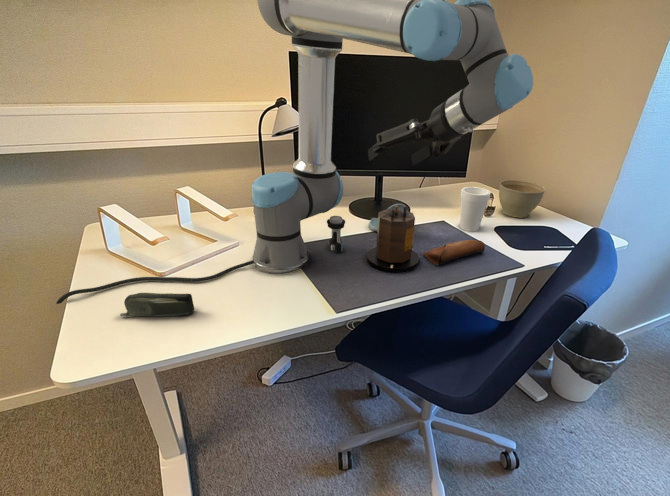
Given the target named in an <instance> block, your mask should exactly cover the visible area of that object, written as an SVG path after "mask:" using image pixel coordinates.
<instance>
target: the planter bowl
mask: <svg viewBox="0 0 670 496" xmlns="http://www.w3.org/2000/svg"><path fill="white" fill-rule="evenodd" d="M545 193H546V188H545V187H544V186H543V185H540V184H537V183H535V182H531V181H525V180H518V179H506V180H502V181H500V182H499V189H498V200H499V203H500V206H501V208H502V213H503V214H504V215H505V216H508V217H511V218H517V219H524V218H528V216H529V215H530V213H532V212H533V211H534V210H535V209H536V208H537V207H538V206H539V205H540V203H541V202H542V200H543V197H544V194H545Z"/></svg>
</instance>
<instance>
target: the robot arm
mask: <svg viewBox="0 0 670 496" xmlns="http://www.w3.org/2000/svg"><path fill="white" fill-rule="evenodd" d="M256 1H257V6H258V10H259V13H260V16H261V17H262V19H263V20H264V22H265V23H266V25H268V26H269V28H271V29H272V30H273V31H275V32H276V33H278V34H281V35H284V36H288V37H289V36H290V37H291V46H292V47H293V49H295V51H296V53H297V55H298V58H297V61H298V64H297V65H298V68H297V69H298V71H297V72H298V75H297V76H298V77H297V78H298V159H296V160H295V161H294V162H293V164H292V172H289V171H277V172H269V173H266V174H263V175H260V176H259V177H257V178H256V179H255V180H254V181H253V182H252V184H251V202H252V205H253V206H252V207H253V213H254V214H253V215H254V224H255V230H256V240H255V245H254V249H253V253H252V260H249V261H245V262H243V263H240V264H237V265H233V266H231V267H228V268H226V269H224V270H222V271H220V272H218V273H215V274H213V275H209V276H202V277H181V276H178V277H177V276H139V277H132V278H127V279H122V280H118V281H114V282H111V283H107V284H103V285H99V286H96V287H89V288H80V289H74V290H70V291H67V292H66V293H64V294H62V295H61V296H60V297H59V299H57V301H56V305H59V304H62V303H63V302H64V301H65V300H67V299H68V298H70V297H72V296H75V295H80V294H87V293H94V292H99V291H103V290H106V289H111V288H114V287H117V286H120V285H125V284H129V283H136V282H144V281H145V282H147V281H148V282H150V281H153V282H186V283H200V282H206V281H211V280H214V279H218V278H220V277H222V276H224V275H226V274H229V273H230V272H233V271H236V270H238V269H241V268H244V267H248V266H250V265H253V266H254V268H255V269H257V270H258V271H260V272H262V273H266V274H272V275H284V274H285V275H286V274H291V273H295V272H299V271H301V270H303V269H304V268H306V267H307V265H308V264H309V262H310V256H309V255H310V254H309V253H310V251H309V250H308V249H307V246H306V243H305V241H304V238H303V237H302V230H301V221H303V220H306V219H309V218H311V217H312V218H313V217H314V216H318V215H319V214H324V213H325V214H326V213H328V212H329V211H331V210H332V209H335V208H336V207H337V206H338V205H339V204H340V203H341V201H342V199H343V195H344V183H343V180H342V179H341V175H340V174H339V172H338V171H337V166H336V165H335V163H334V162H333V161H332V147H333V146H332V142H333V122H334V121H333V119H334V98H335V97H334V95H335V74H336V57H337V56H338V55H339V54H340V53H341V52H342V51H343V40H348V41H352V42H357V43H361V44H364V45H365V44H366V45H370V46H375V47H379V48H384V49H387V50H392V51H397V52H400V53H406V54H410V55H413V56H414V57H415V58H417V59H419V60H423V61H427V62H437V61H460V63H461V66H462V69H463V71H464V74H465V77H466V78H467V81H468V83H469V84H467V85H466V86H464V88H461V89H460V90H459V91H457V92H456V93H455V94H453V95H451V96H450V97H448V98H447V99H446V100H445V101H443V102H442V103H441V104H439V105H438V106H436V107H435V108H433V110H432V112H431V113H430V117H429V118H428V120H425V121H422V122H419V120H418V118H417V117H414V118H412V119H410V120H408V121H407V122H405V123H402V124H399V125H397V126H395V127H392V128H389V129H387V130H384V131H382V132H378V133H377V134H376V143H375V144H373V145H372V146H371V147H370V148H368V149H367V155H368V161H369V162H373V161H375V160H377V159H378V158H379V157H381V156H382V155H384V154H386V153H387V152H388V151H389V149H390V148H394V147H399V146H403V145H407V144H410V143H414V144H419V143H424V142H427V143H432V144H427V145H426V146H424V147H422V148H421V149H419V150H417V151H416V152H414V153H413V154H411V155H410V156H411V162H412V166H413V167H416V166H418V165H420V164H421V163H423V162H425V161H427V160H428V159H430V158H432V157H433V158H434V159H439V158H440V156H444V155H446V154H447V153H448V152H449V150H450V149H451V148H452V147H453V145H454V144H455V143H456V142H457V141H460V140H461V139H462V137H463V136H464V135H465V134H468V133H473V131H474V130H475V129H477V128H478V127H479V126H481V125H483V124H485V123H487V122H488V121H490V120H492V119H495V118H496V117H497V116H499V115H501V114H503V113H505V112H507V111H508V110H510V109H512V108H513V107H514V106H515V105H517V104H518V103H520V102H522V101H523V100H525V99H526V98H528V97H529V95H530V94H531V92H532V90H533V86H534V75H533V71H532V69H531V68H532V67H531V66H530V65H528V63H527V60H526V58H525V57H524V56H522V55H521V54H518V53H512V54H510V55H509V53H508V51H507V49H506V45H505V42H504V39H503V36H502V33H501V30H500V27H499V24H498V20H497V18H496V13H495V9H494V7H493V6H492V4H491V2H490V0H456V1H455V2H450V1H448V0H256ZM417 133H418V134H417ZM417 135H418V136H417Z"/></svg>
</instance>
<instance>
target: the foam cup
mask: <svg viewBox="0 0 670 496" xmlns="http://www.w3.org/2000/svg"><path fill="white" fill-rule="evenodd" d="M491 195H492V192H491V190H489V189H487V188H484V187H478V186H465V187H462V188H461V191H460V218H459V227H460V229H461V230H463V231H466V232H477V231H478V230H479V228H480V226H481V223H482V220H483V218H484V216H485V212H486V208H487V205H488V203H489V201H490V199H491Z"/></svg>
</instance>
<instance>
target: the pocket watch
mask: <svg viewBox="0 0 670 496" xmlns="http://www.w3.org/2000/svg"><path fill="white" fill-rule="evenodd" d="M395 206H398V209H402V210H404V206H406V205H405V204H403V203H400V202H399V203H394V204H392V205H390V206H389V207H387V209H395ZM369 220H370V221H369V222H368V228H369V229H370V230H371V231H373V232H376V233H377V229H378V217H371V218H370V219H369Z"/></svg>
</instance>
